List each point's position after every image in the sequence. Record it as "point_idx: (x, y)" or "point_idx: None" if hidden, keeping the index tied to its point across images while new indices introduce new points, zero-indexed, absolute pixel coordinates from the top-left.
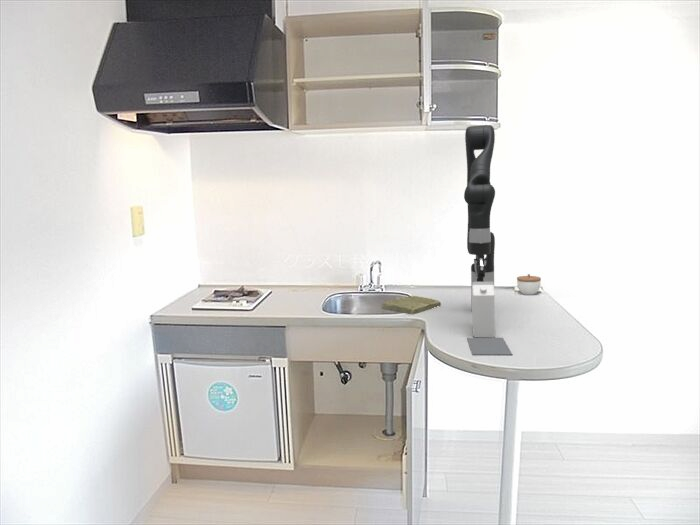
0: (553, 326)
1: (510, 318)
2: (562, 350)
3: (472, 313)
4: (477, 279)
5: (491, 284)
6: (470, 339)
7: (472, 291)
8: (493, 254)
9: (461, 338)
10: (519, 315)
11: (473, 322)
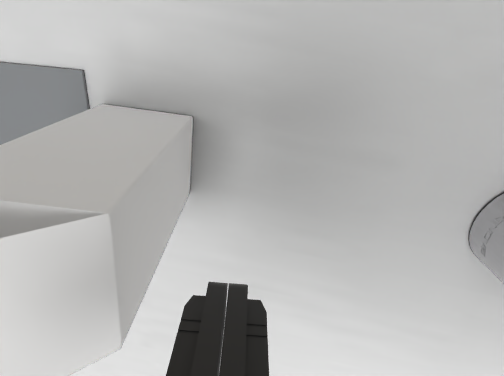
0: None
1: (376, 290)
2: None
3: (119, 138)
4: (193, 368)
5: None
6: (54, 81)
7: (88, 216)
8: None
9: (84, 43)
10: (406, 321)
11: (62, 120)
